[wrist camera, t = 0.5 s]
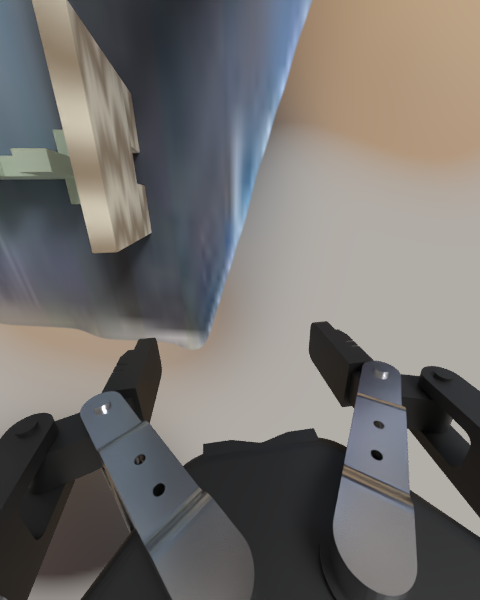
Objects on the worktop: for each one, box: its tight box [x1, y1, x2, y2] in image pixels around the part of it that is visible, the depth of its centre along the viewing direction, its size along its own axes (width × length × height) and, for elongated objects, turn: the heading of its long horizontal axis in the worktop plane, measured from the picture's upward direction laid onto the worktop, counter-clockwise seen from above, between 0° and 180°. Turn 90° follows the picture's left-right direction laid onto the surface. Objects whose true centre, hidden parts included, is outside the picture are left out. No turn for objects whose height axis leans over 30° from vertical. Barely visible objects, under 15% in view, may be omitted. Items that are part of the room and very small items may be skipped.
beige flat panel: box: [32, 0, 152, 253], centre depth 25 cm, size 16×2×15 cm, turn 1°
